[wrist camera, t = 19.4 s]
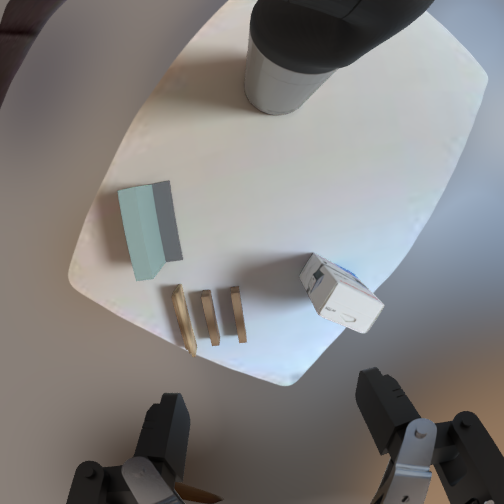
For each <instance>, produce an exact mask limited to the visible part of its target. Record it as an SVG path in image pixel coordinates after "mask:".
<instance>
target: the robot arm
mask: <svg viewBox="0 0 504 504" xmlns="http://www.w3.org/2000/svg"><path fill="white" fill-rule="evenodd" d="M433 2H434V0H258V1H257V3H256V4H255V6H254V8H253V10H252V14H251V19H250V29H249V39H248V51H247V62H246V72H245V83H244V88H245V93H246V96H247V98H248V99H249V101H250V102H251V103H252V104H253V105H254V106H255V107H256V108H257V109H259V110H260V111H262V112H265V113H267V114H272V115H284V114H289V113H291V112H293V111H295V110H297V109H298V108H299V107H300V106H301V105H302V104H303V103H304V102H305V101H306V100H307V99H308V98H309V97H310V96H311V95H312V94H313V93H314V92H315V91H316V90H317V89H318V88H319V87H320V86H321V85H322V84H323V83H324V82H325V81H326V80H327V79H328V78H329V77H330V76H332V74H333V73H334V72H336V71H337V70H338V69H339V68H342V67H346V66H348V65H350V64H352V63H353V62H355V61H356V60H357V59H359V58H360V57H361V56H363V55H364V54H366V53H367V52H369V51H370V50H372V49H373V48H375V47H376V46H378V45H379V44H381V43H383V42H384V41H386V40H388V39H389V38H391V37H392V36H394V35H395V34H397V33H398V32H400V31H401V30H403V29H404V28H406V27H407V26H408V25H410V24H411V23H412V22H413V21H415V20H416V19H417V18H418V17H419V16H421V15H422V14H423V13H424V12H425V11H426V10H427V9H428V8H429V6H430V5H431V4H432V3H433ZM355 396H356V402H357V405H358V407H359V409H360V411H361V413H362V416H363V418H364V420H365V422H366V424H367V426H368V429H369V431H370V433H371V435H372V437H373V439H374V442H375V444H376V446H377V448H378V450H379V453H380V455H384V454H387V453H389V454H390V456H391V458H390V460H389V463H388V465H387V468H386V471H385V473H384V476H383V478H382V481H381V483H380V486H379V488H378V490H377V492H376V494H375V496H374V497H373V499H372V501H371V503H370V504H423V503H424V501H425V498H426V494H427V491H428V487H429V484H430V481H431V476H432V472H431V471H429V468H430V465H432V464H433V465H434V467H435V469H436V472H437V474H438V476H439V478H440V480H441V483H442V485H443V487H444V490H445V492H446V494H447V496H448V499H449V501H450V504H504V457H503V456H502V454H501V452H500V451H499V449H498V447H497V446H496V444H495V443H494V441H493V439H492V438H491V436H490V435H489V433H488V432H487V430H486V429H485V427H484V426H483V424H482V423H481V421H480V420H479V418H478V417H477V416H476V415H475V414H474V413H472V412H469V411H463V412H460V413H458V414H457V415H456V416H455V417H454V419H453V421H448V422H443V423H433V422H432V421H431V420H429V419H425V418H421V416H420V415H419V414H418V412H417V411H416V409H415V407H414V406H413V404H412V403H411V402H410V400H409V399H408V397H407V396H406V395H405V392H404V391H403V390H402V389H401V387H400V385H399V384H398V382H397V381H396V380H395V379H394V378H392V377H391V376H389V375H384V376H383V375H382V374H381V372H380V371H379V369H378V368H377V367H373V368H369V369H366V370H362V371H360V373H359V377H358V383H357V388H356V394H355ZM142 428H143V429H142V430H141V433H140V437H139V440H138V444H137V447H136V450H135V454H134V456H133V457H132V458H130V459H128V460H127V461H126V462H125V463H124V464H123V465H121V466H114V467H102V466H101V465H100V464H98V463H97V462H94V461H85V462H83V463H81V464H80V465H79V466H78V467H77V469H76V472H75V475H74V478H73V482H72V485H71V488H70V492H69V495H68V499H67V503H66V504H185V503H184V501H183V500H182V499H181V498H180V496H179V495H178V494H177V492H176V491H175V490H174V485H175V482H183V476H184V468H185V459H186V452H187V445H188V437H189V430H190V416H189V412H188V410H187V408H186V405H185V403H184V400H183V397H182V395H181V394H180V393H164V394H163V395H162V398H161V402H160V404H153V405H152V406H151V407H150V409H149V410H148V411H147V413H146V417H145V422H144V424H143V426H142Z"/></svg>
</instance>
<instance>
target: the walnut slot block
mask: <svg viewBox="0 0 504 504" xmlns="http://www.w3.org/2000/svg"><path fill="white" fill-rule="evenodd" d="M231 298H232V304H233V310H234V316H235V321H236V327H237V333H238V338H239V343H245V342H247V339H246V330H245V323H244V317H243V311H242V304H241V298H240V291H239V286H237V287H231ZM201 300H202V304H203V309H204V313H205V318H206V322H207V326H208V331H209V335H210V339H211V343H212V346H217V345H219V343H220V334H219V330H218V325H217V320H216V316H215V311H214V306H213V301H212V296H211V291H210V290H204V291H203V292H202V296H201Z"/></svg>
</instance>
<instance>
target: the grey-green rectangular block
mask: <svg viewBox="0 0 504 504" xmlns="http://www.w3.org/2000/svg"><path fill="white" fill-rule="evenodd" d="M118 198H119V204H120V210H121V215H122V220H123V226H124V231H125V236H126V240H127V245H128V249H129V254H130V258H131V262H132V266H133V270H134V274H135V278H136V281H141V280H150V279H154V277H155V276H156V275H157V273H158V272H159V271H160V269H161V268H162V267H163V265H164V264H165V263H166V261H165V256H164V251H163V246H162V241H161V236H160V231H159V225H158V220H157V214H156V208H155V202H154V196H153V189H152V184H151V185H144V186H137V187H132V188H128V189H123V190H119V191H118Z"/></svg>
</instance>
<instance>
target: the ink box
mask: <svg viewBox="0 0 504 504" xmlns="http://www.w3.org/2000/svg"><path fill="white" fill-rule="evenodd" d="M299 277H300V280H301V281H302V283H303V285H304V287H305V289H306V291H307V293H308V295H309V297H310V299H311V301H312V303H313V305H314V308H315V310H316V312H317V313H318V315H320V316H321V317H323V318H326V319H328V320H330V321H332V322H336V323H338V324H340V325H342V326H345V327H348V328H350V329H353V330H355V331H357V332H360V333H367V332H368V331H369V329H370V328H371V326H372V325H373V323H374V322H375V320H376V319H377V317H378V316H379V314H380V313H381V311H382V309H383V308H384V304H383V303H382V302H381V301H380V300H379V299H378V298H377V297H376V296H375V295H374V294H373V293H372V292H371V291H370V290H369V289H368V288H367V287H366V286H365V285H364V284H363V283H362V282H361V281H360V280H359V279H358V278H357V277H356V276H355V275H354V274H353V273H352V272H350V271H348V270H346V269H344V268H342V267H340V266H338V265H336V264H334V263H332V262H331V261H329V260H327V259H325V258H323V257H321V256H319V255H317V254H316V253H313V255H312V256H311V257H310V259H309V260H308V262H307V263H306V265H305V267H304V268H303V270H302V272H301V274H300V276H299Z"/></svg>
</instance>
